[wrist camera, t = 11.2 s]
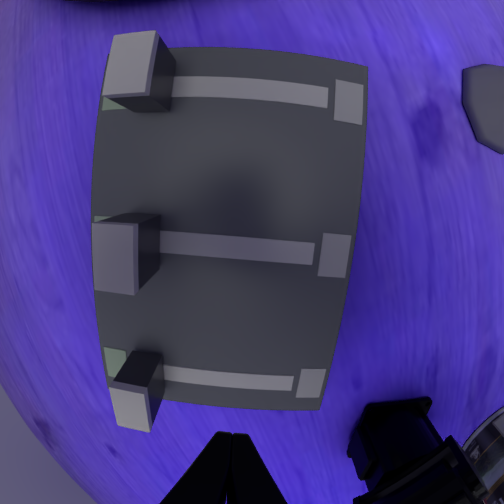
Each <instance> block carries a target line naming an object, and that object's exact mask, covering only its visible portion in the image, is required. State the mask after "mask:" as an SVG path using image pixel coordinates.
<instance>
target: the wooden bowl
mask: <svg viewBox="0 0 504 504" xmlns="http://www.w3.org/2000/svg"><path fill="white" fill-rule="evenodd" d="M65 1H83V2H103V1H117V0H65Z"/></svg>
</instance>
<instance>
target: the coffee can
mask: <svg viewBox="0 0 504 504" xmlns="http://www.w3.org/2000/svg"><path fill="white" fill-rule="evenodd" d="M462 449H463V450H464V451H465V453H466V454H467V456H468V457H469V458H470V460H471V461H472V463H473V464H474V466H475V467H476V469H477V471H478V473H479V474H480V476H481V478H482V480H483V482H484V484H485V486H486V488H487V489H488V491H489V493H490V495H489V496H487V497H486V498H485V499H483V501H484V502H485V504H504V407H503V408H501V409H500V410H498V411H497V412H495V413H494V414H493V415H492V416H490V417H489V418H488V419H487V420H486V421H485V422H484V423H483V424H482V425H481V426H480V427H478V428H477V430H476V431H475V432H474V433H473V434H472V435H471V436H470V438H469V439H468V440H467V441H466V443H465V444H464V446H463V447H462Z"/></svg>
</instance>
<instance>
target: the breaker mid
mask: <svg viewBox="0 0 504 504" xmlns="http://www.w3.org/2000/svg"><path fill="white" fill-rule="evenodd" d="M160 217H161V215H159V214H141V213H124V214H120V215H117V216H113V217H110V218H107V219H104V220H100V221H97V222H94V223H92V257H93V275H94V289H95V290H98V291H105V292H113V293H120V294H127V295H135V294H136V293H137V292H138V291H139V290H140V289H141V288H142V287H143V286H144V285H145V284H146V283H147V282H148V281H149V280H150V279H151V278H152V277H153V275H154V274H155V273H156V272H157V271H158V270H159V258H160Z"/></svg>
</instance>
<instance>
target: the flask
mask: <svg viewBox="0 0 504 504" xmlns="http://www.w3.org/2000/svg"><path fill="white" fill-rule="evenodd" d="M463 105H464V107H465V110H466V112H467V114H468V117H469V119H470V122H471V125H472V127H473V130H474V132H475V135H476V138H477V141H478V142H480V143H482V144H484V145H486V146H488V147H489V148H491V149H493V150H495V151H497V152H498V153H500V154H504V67H502V66H496V65H489V64H482V65H478V66H474V67H470V68H466V69H463Z"/></svg>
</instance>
